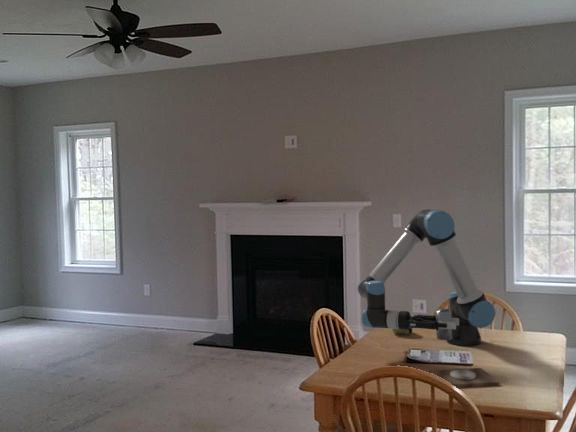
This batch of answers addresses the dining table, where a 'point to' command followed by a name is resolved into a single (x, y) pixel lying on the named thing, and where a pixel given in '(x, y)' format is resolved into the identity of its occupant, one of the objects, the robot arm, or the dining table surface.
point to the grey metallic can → (446, 316)
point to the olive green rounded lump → (402, 331)
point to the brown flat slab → (467, 377)
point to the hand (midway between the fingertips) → (457, 323)
